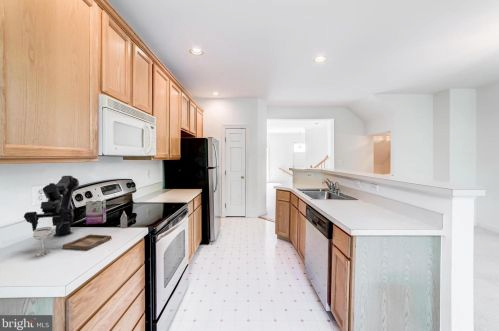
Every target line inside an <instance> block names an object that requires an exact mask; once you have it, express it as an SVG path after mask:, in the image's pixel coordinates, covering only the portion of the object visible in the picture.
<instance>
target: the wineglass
mask: <svg viewBox="0 0 499 331" xmlns="http://www.w3.org/2000/svg"><path fill="white" fill-rule="evenodd" d="M33 231H34V232H33ZM32 232H33V238H34V240H35V239H36V240H38V241H41V247H42V251H41V252H39V253H36V255H37V256H40V257H41V256H45V255H48V254H50V253H51V251H49V250H48V251H45V241H46V240H47V239H49V238H50V237H51V236H52V234H53V227H52V226H44V227H39V228H36V229H35V230H33V229H32ZM36 255H35V256H36Z"/></svg>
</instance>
